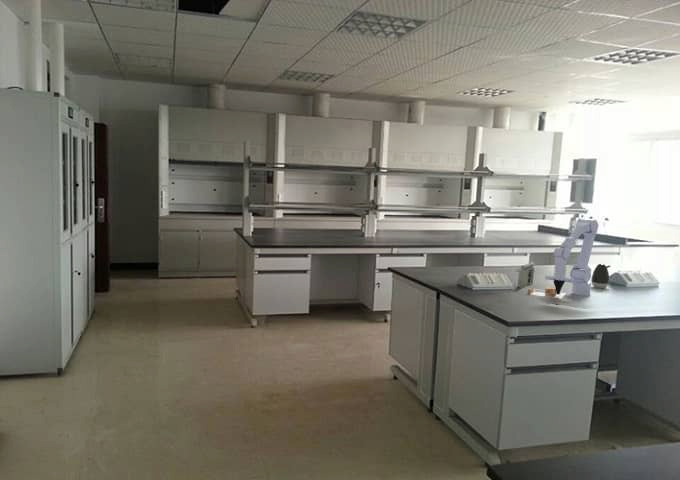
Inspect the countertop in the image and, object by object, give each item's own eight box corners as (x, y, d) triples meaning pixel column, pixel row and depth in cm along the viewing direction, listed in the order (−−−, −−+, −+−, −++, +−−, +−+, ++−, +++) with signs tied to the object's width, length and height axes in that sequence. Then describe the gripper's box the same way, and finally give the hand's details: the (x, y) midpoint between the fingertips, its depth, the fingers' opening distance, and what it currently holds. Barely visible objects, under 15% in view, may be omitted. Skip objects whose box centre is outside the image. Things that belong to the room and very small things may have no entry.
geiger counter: (526, 265, 316) (539, 261, 336) (515, 264, 319) (528, 260, 339) (524, 288, 317) (537, 283, 337) (513, 287, 321) (527, 281, 341)
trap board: (566, 295, 301) (566, 288, 301) (560, 301, 286) (561, 294, 285) (533, 291, 311) (533, 284, 310) (526, 296, 295) (526, 289, 295)
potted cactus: (612, 289, 325) (614, 265, 323) (595, 289, 325) (597, 264, 323) (604, 286, 335) (606, 262, 333) (587, 285, 335) (589, 262, 333)
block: (556, 295, 294) (556, 288, 294) (554, 296, 290) (555, 289, 289) (546, 294, 297) (547, 287, 296) (544, 295, 292) (545, 288, 292)
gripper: (544, 268, 290) (542, 293, 291) (573, 272, 282) (571, 297, 284) (547, 267, 296) (545, 291, 297) (575, 270, 288) (573, 294, 290)
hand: (558, 293), depth 291 cm, fingers closed
